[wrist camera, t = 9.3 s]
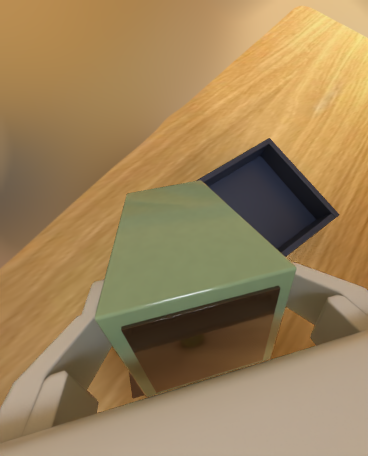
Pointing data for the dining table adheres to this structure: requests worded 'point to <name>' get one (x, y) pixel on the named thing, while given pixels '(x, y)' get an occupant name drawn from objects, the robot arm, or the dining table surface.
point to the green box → (190, 288)
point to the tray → (272, 196)
